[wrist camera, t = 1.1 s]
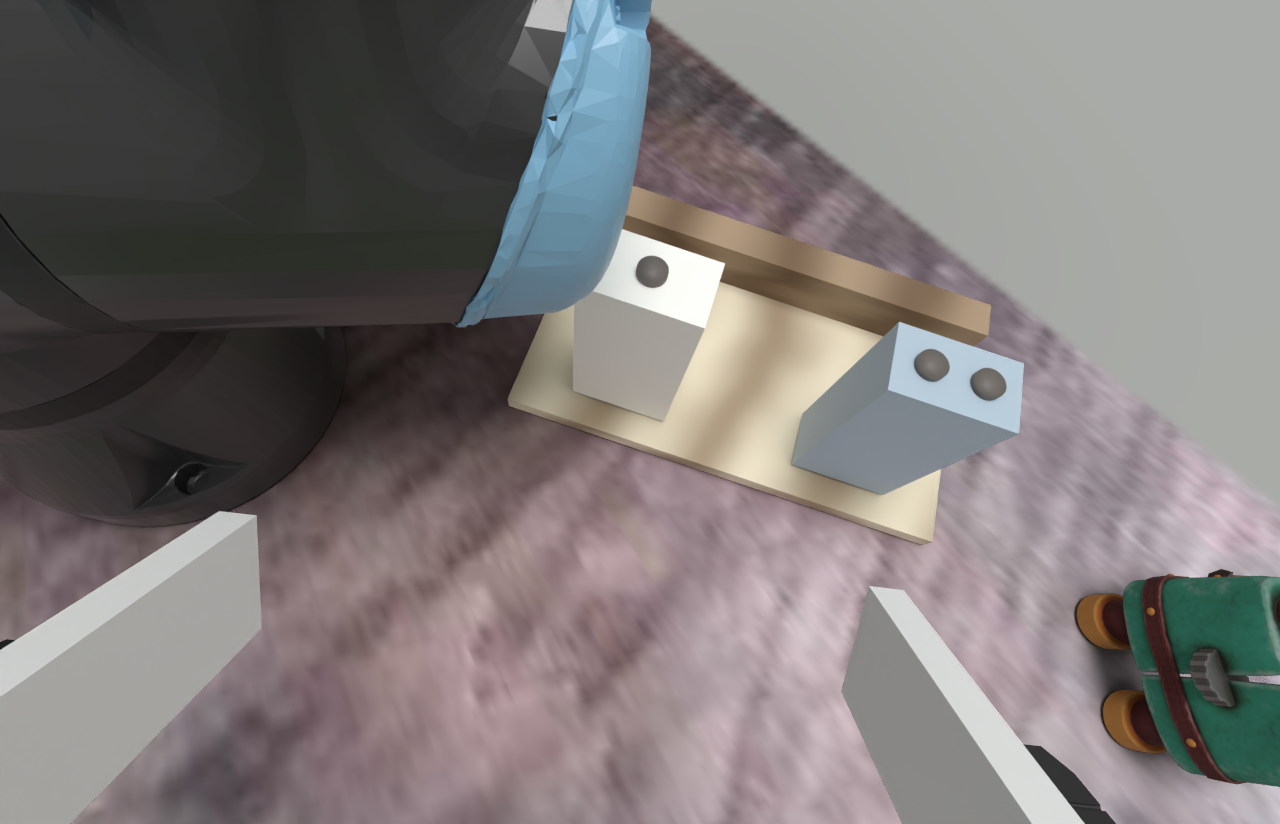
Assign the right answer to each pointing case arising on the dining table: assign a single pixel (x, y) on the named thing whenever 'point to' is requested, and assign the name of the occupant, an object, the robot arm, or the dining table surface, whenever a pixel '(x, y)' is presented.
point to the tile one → (642, 324)
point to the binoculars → (1197, 671)
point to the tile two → (910, 411)
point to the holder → (759, 362)
